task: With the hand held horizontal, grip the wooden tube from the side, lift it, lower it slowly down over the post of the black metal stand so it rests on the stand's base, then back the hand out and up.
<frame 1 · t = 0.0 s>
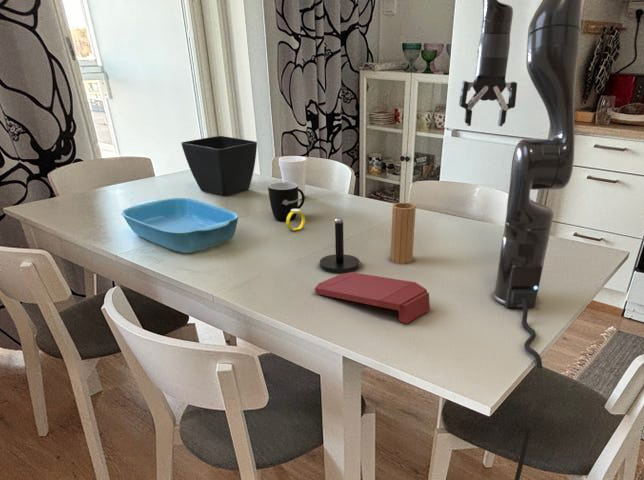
hand: (484, 125, 138), 29 cm above the table, tool pointing down, fingers open, 8 cm apart
foam cup: (295, 197, 184), on the table
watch: (296, 230, 154), on the table
mug: (289, 218, 164), on the table
stand: (339, 265, 131), on the table
casserole dish: (183, 237, 147), on the table
flower pot: (226, 191, 191), on the table
wooden tube: (401, 259, 135), on the table
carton: (371, 300, 114), on the table
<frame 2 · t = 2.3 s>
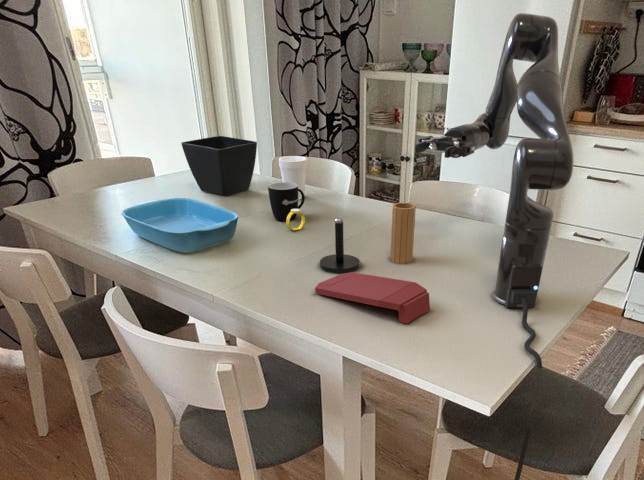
hand: (431, 151, 129), 25 cm above the table, tool horizontal, fingers open, 8 cm apart
nothing on the table moved.
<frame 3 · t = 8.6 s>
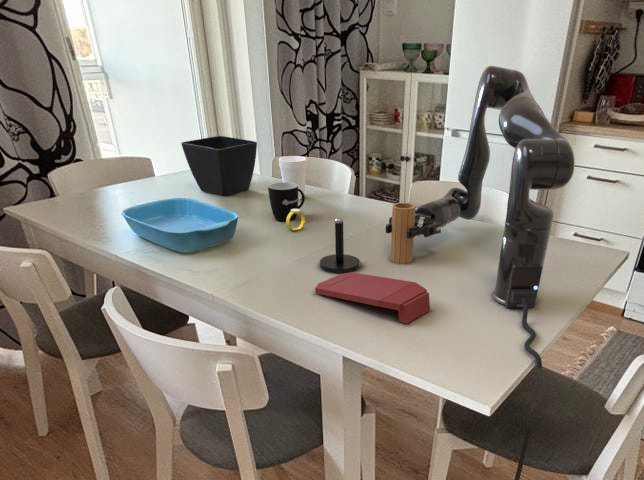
hand: (397, 231, 129), 8 cm above the table, tool horizontal, fingers closed on wooden tube, 5 cm apart
wooden tube: (401, 259, 135), on the table, touching gripper
everything else where it was.
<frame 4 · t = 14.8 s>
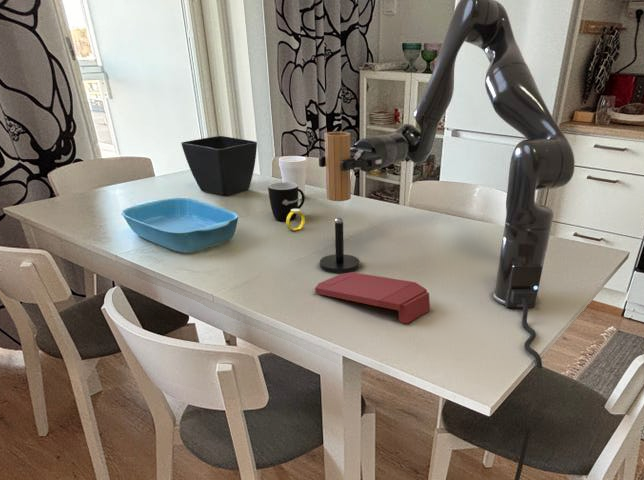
hand: (331, 164, 116), 25 cm above the table, tool horizontal, fingers closed on wooden tube, 5 cm apart
wooden tube: (338, 197, 122), point 17 cm above the table, touching gripper
everything else where it was.
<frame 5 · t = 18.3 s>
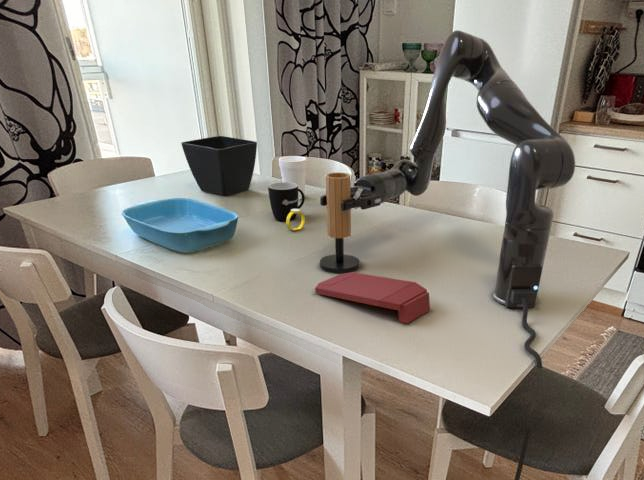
hand: (331, 203, 121), 16 cm above the table, tool horizontal, fingers closed on wooden tube, 5 cm apart
wooden tube: (339, 234, 127), point 8 cm above the table, touching gripper
everything else where it was.
when the fingers open (9 cm above the table, at t = 21.2 s): wooden tube stays where it is, resting on stand.
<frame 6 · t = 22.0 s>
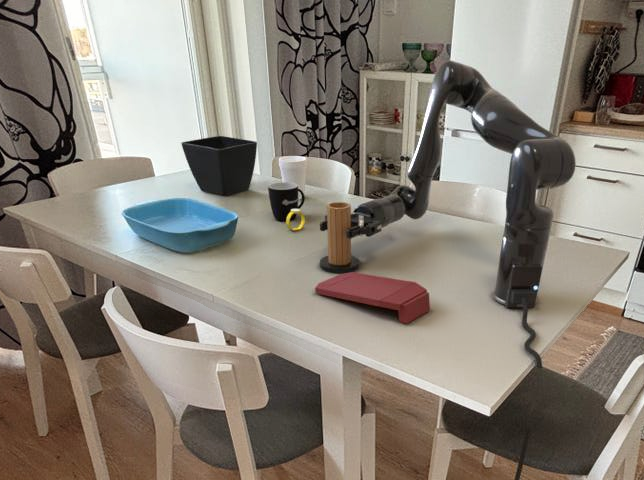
hand: (334, 230, 124), 10 cm above the table, tool horizontal, fingers open, 8 cm apart
wooden tube: (339, 261, 130), point 1 cm above the table, touching stand
everything else where it was.
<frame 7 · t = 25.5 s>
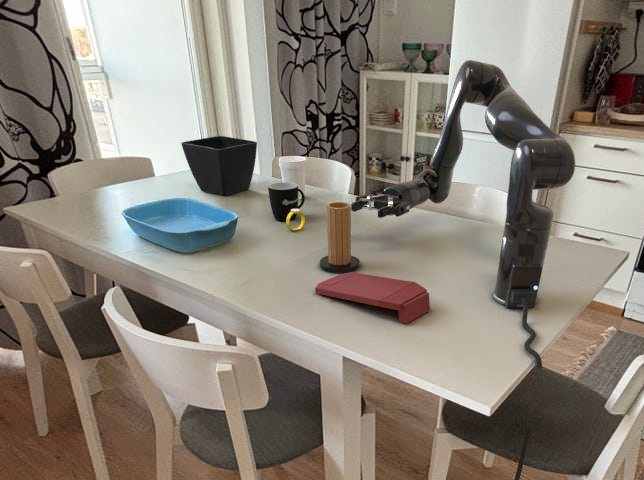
hand: (365, 210, 131), 12 cm above the table, tool horizontal, fingers open, 8 cm apart
nothing on the table moved.
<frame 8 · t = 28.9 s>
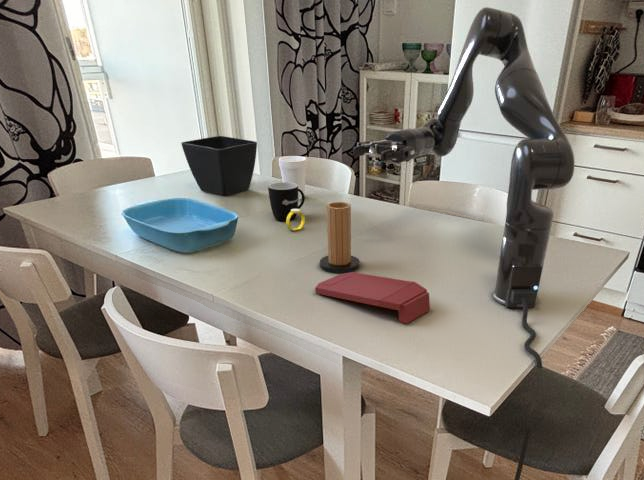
hand: (367, 154, 125), 25 cm above the table, tool horizontal, fingers open, 8 cm apart
nothing on the table moved.
at the end: wooden tube 0.1 cm off-centre on the stand, point 1.2 cm above the stand's base; wooden tube tilted 0°; the gripper is holding nothing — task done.
